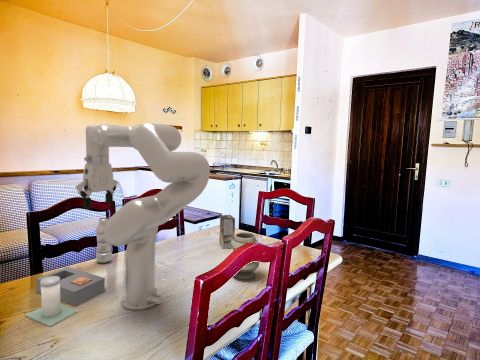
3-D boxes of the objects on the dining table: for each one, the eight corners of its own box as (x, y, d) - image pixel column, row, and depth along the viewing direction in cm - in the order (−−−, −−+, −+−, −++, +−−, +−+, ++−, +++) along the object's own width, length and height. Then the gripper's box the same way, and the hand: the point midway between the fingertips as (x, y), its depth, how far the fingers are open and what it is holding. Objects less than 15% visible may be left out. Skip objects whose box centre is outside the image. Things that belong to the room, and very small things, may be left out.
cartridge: (65, 311, 97) (63, 278, 96) (48, 319, 93) (47, 285, 91) (54, 306, 100) (53, 274, 98) (38, 314, 95) (36, 281, 94)
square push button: (91, 292, 110) (90, 277, 109) (80, 298, 106) (80, 282, 105) (82, 290, 111) (82, 275, 111) (72, 295, 108) (71, 279, 107)
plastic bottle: (106, 265, 135) (105, 220, 132) (92, 263, 136) (91, 219, 134) (115, 260, 141) (114, 217, 138) (102, 258, 142) (101, 216, 140)
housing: (104, 291, 112) (104, 277, 112) (74, 306, 101) (74, 291, 101) (68, 278, 120) (67, 266, 120) (36, 291, 110) (36, 278, 109)
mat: (77, 312, 98) (77, 311, 98) (50, 327, 90) (50, 325, 90) (53, 302, 103) (53, 301, 103) (24, 316, 95) (24, 314, 95)
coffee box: (234, 248, 163) (235, 218, 161) (222, 249, 161) (223, 219, 159) (229, 242, 171) (230, 214, 170) (218, 243, 170) (219, 215, 168)
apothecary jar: (224, 272, 132) (226, 232, 130) (249, 268, 137) (251, 229, 135) (237, 284, 121) (239, 240, 119) (263, 279, 127) (265, 237, 124)
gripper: (83, 161, 102) (85, 211, 104) (123, 159, 118) (124, 203, 120) (68, 160, 105) (70, 209, 107) (109, 158, 121) (110, 201, 123)
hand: (98, 206), depth 114 cm, fingers open, 9 cm apart
